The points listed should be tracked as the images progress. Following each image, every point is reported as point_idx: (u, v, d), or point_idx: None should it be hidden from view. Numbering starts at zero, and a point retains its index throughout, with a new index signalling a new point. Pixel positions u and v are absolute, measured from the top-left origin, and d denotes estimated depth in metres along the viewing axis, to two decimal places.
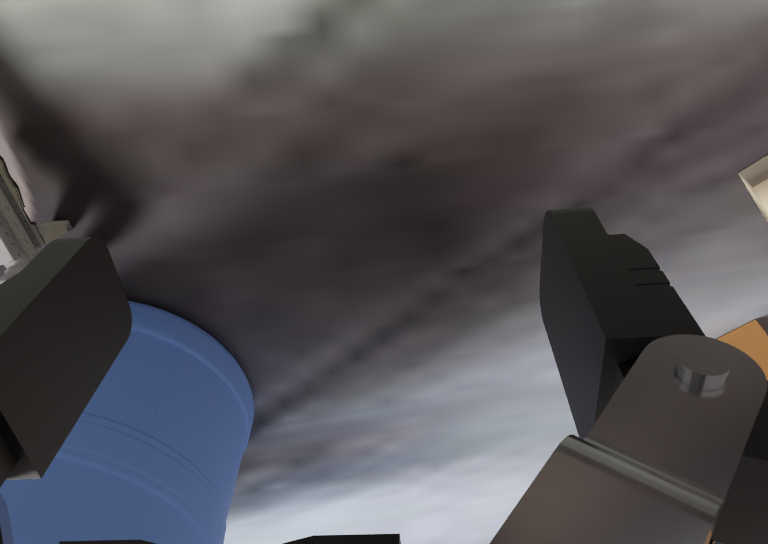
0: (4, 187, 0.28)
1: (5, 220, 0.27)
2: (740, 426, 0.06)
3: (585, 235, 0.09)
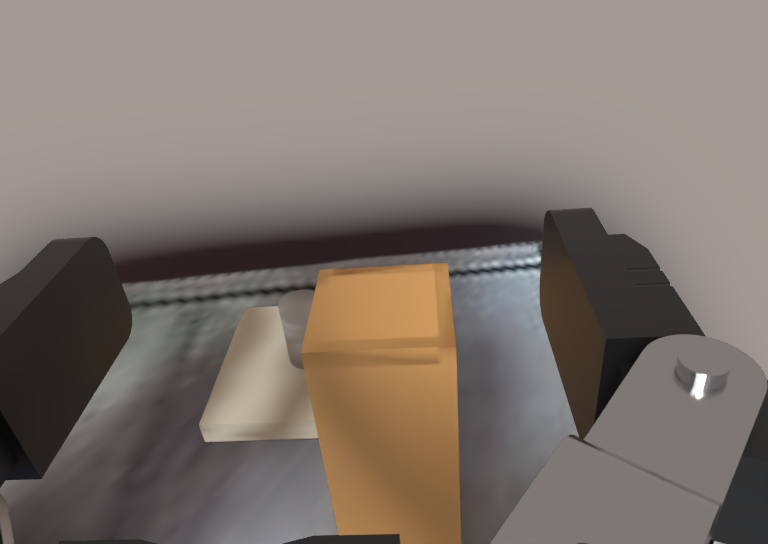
0: None
1: None
2: (740, 426, 0.06)
3: (585, 235, 0.09)
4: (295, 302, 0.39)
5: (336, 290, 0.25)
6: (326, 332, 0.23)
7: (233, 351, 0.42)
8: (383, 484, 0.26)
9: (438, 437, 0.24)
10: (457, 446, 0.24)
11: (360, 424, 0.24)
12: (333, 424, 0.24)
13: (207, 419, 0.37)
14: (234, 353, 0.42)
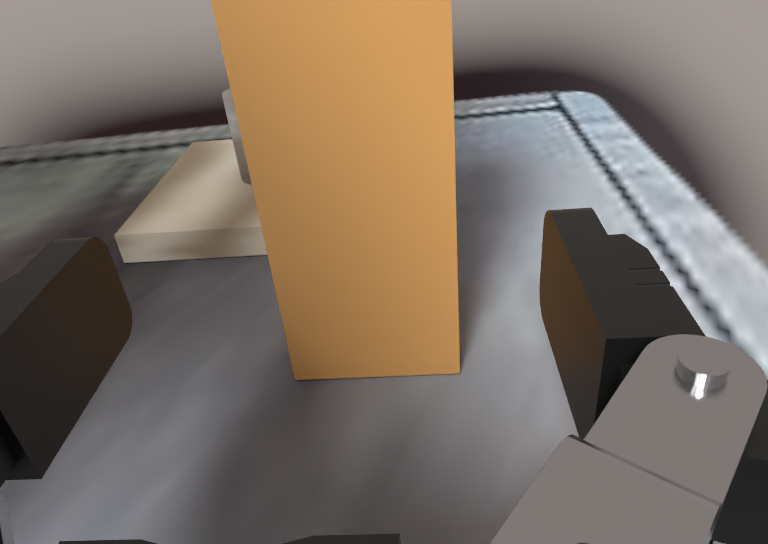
0: None
1: None
2: (740, 426, 0.06)
3: (585, 235, 0.09)
4: None
5: None
6: None
7: (172, 175, 0.33)
8: (340, 201, 0.17)
9: (421, 96, 0.15)
10: (451, 115, 0.15)
11: (297, 70, 0.15)
12: (255, 71, 0.15)
13: (126, 230, 0.28)
14: (172, 176, 0.33)
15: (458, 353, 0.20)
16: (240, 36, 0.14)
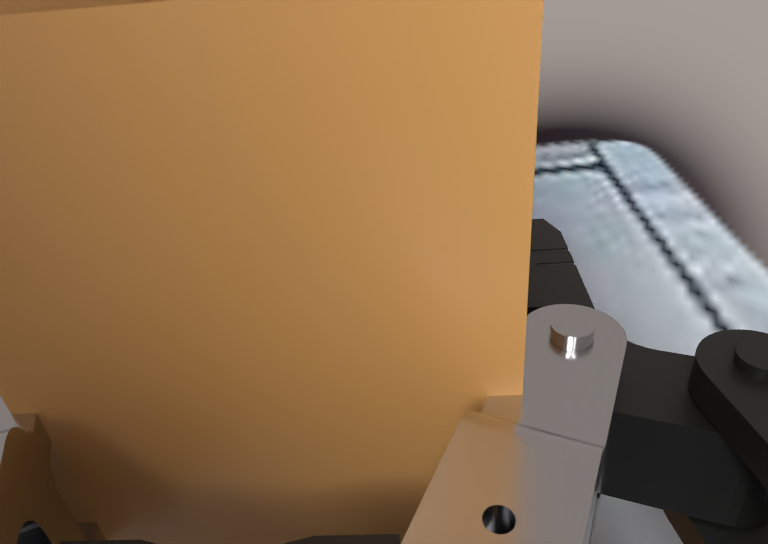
0: None
1: None
2: (593, 380, 0.06)
3: None
4: None
5: None
6: None
7: None
8: None
9: (445, 387, 0.06)
10: None
11: (137, 333, 0.06)
12: (33, 334, 0.06)
13: None
14: None
15: None
16: None
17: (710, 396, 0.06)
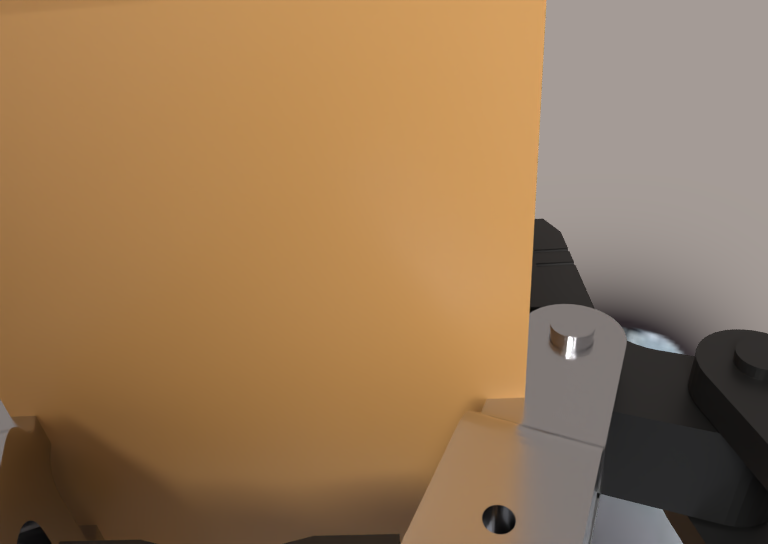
0: None
1: None
2: (592, 380, 0.06)
3: None
4: None
5: None
6: None
7: None
8: None
9: (447, 389, 0.06)
10: None
11: (137, 336, 0.06)
12: (32, 336, 0.06)
13: None
14: None
15: None
16: None
17: (710, 396, 0.06)
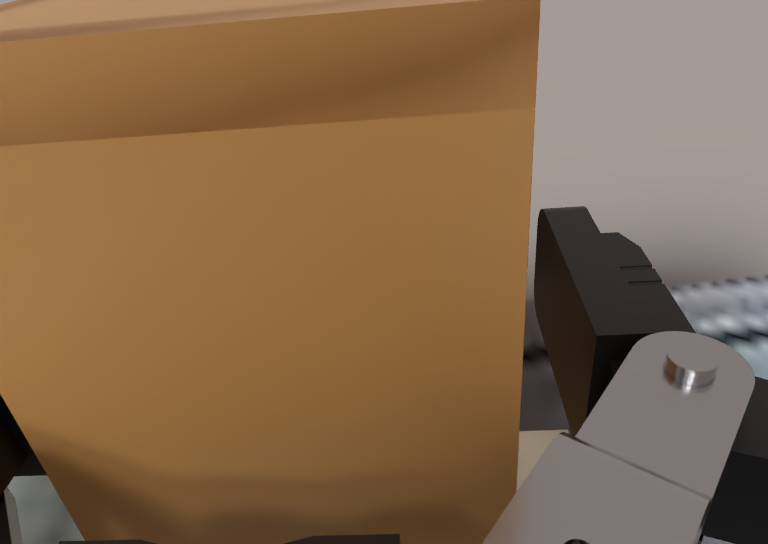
0: None
1: None
2: (727, 421, 0.06)
3: (578, 233, 0.09)
4: None
5: None
6: None
7: None
8: None
9: (446, 451, 0.07)
10: (511, 482, 0.07)
11: (164, 403, 0.07)
12: (68, 403, 0.07)
13: None
14: None
15: None
16: (21, 343, 0.06)
17: None
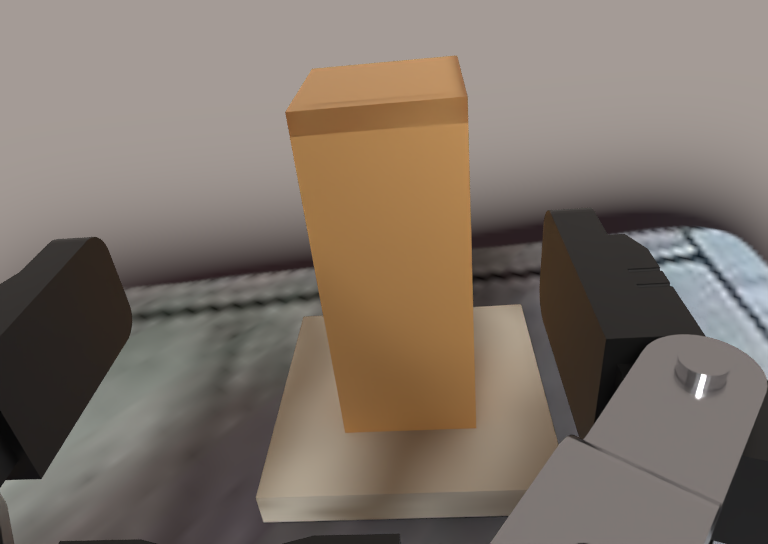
0: None
1: None
2: (740, 426, 0.06)
3: (585, 235, 0.09)
4: None
5: (329, 77, 0.22)
6: (316, 99, 0.19)
7: (295, 379, 0.29)
8: (385, 304, 0.22)
9: (447, 234, 0.21)
10: (469, 247, 0.21)
11: (357, 217, 0.20)
12: (325, 218, 0.20)
13: (268, 488, 0.24)
14: (297, 382, 0.29)
15: (474, 413, 0.25)
16: (316, 195, 0.20)
17: None
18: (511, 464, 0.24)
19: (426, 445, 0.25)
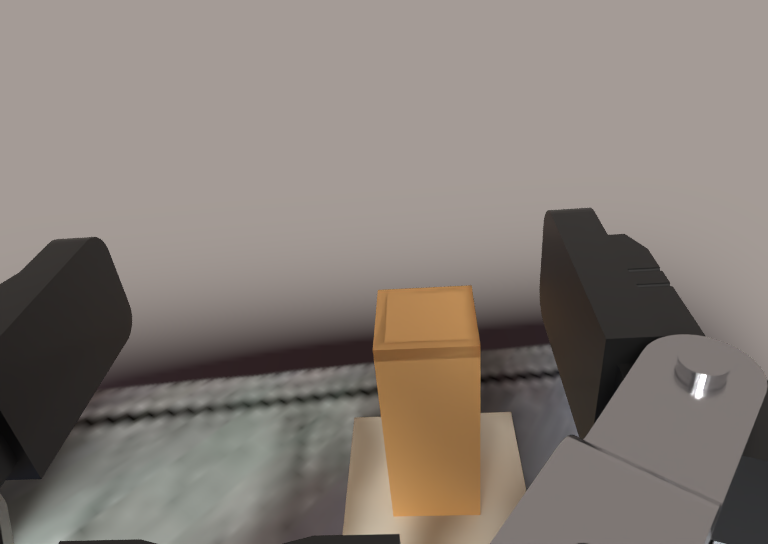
0: None
1: None
2: (740, 426, 0.06)
3: (585, 235, 0.09)
4: None
5: (392, 305, 0.35)
6: (388, 336, 0.32)
7: (355, 472, 0.42)
8: (425, 445, 0.35)
9: (466, 410, 0.34)
10: (479, 417, 0.34)
11: (411, 401, 0.33)
12: (391, 401, 0.33)
13: None
14: (356, 475, 0.42)
15: (479, 506, 0.38)
16: (387, 390, 0.33)
17: None
18: None
19: (448, 527, 0.38)
